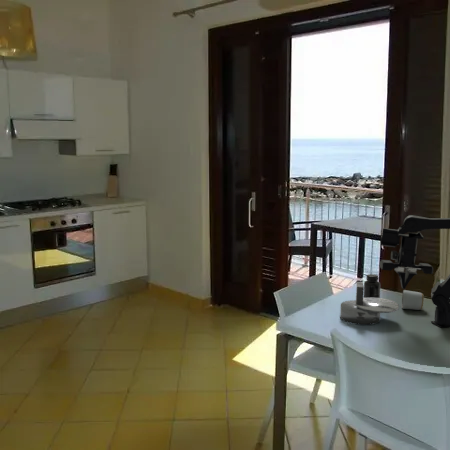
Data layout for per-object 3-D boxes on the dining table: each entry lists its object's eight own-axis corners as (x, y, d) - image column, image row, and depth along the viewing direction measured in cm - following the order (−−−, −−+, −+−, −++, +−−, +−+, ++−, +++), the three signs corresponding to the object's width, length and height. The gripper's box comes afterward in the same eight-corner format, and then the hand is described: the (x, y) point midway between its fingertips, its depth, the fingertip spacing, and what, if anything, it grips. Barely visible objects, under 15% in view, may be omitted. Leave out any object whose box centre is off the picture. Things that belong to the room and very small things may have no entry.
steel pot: (378, 310, 211) (378, 298, 210) (381, 330, 187) (382, 317, 186) (340, 307, 214) (341, 295, 213) (339, 327, 190) (340, 314, 189)
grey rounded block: (423, 312, 208) (424, 294, 207) (402, 310, 210) (403, 292, 209) (420, 305, 218) (421, 287, 217) (400, 303, 220) (401, 286, 219)
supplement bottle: (377, 300, 224) (379, 273, 223) (381, 305, 218) (382, 277, 216) (361, 299, 225) (363, 273, 223) (364, 304, 218) (365, 277, 217)
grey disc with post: (396, 301, 204) (397, 281, 203) (400, 314, 189) (401, 292, 187) (354, 299, 208) (355, 279, 206) (355, 310, 192) (356, 289, 191)
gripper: (427, 246, 201) (421, 285, 204) (378, 242, 203) (374, 280, 205) (436, 252, 190) (430, 293, 193) (385, 248, 192) (380, 288, 194)
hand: (403, 288), depth 197 cm, fingers closed
